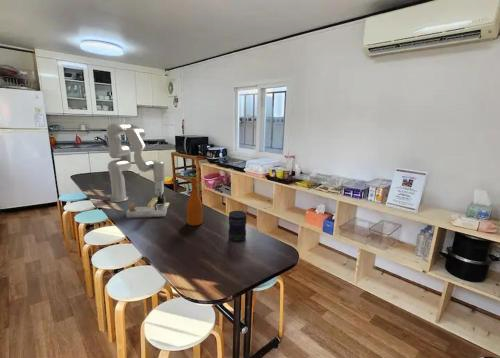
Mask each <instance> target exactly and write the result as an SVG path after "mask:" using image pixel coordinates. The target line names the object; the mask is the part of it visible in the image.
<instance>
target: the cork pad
mask: <svg viewBox="0 0 500 358" xmlns="http://www.w3.org/2000/svg"><path fill="white" fill-rule="evenodd" d="M157 206H167V209H168V208H169V206H170V202H165V204H157ZM153 207H154V205H153Z"/></svg>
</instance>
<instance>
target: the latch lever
mask: <svg viewBox="0 0 500 358" xmlns="http://www.w3.org/2000/svg"><path fill="white" fill-rule="evenodd" d="M156 202H157V197H156V196H153V197H152V199H151V200H150V201H149V202H148V203H147V207H148V208H152V207H153V205H154V204H155V203H156Z"/></svg>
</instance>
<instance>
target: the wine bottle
mask: <svg viewBox="0 0 500 358" xmlns="http://www.w3.org/2000/svg"><path fill="white" fill-rule="evenodd" d="M190 179H191V183H190V184H191V191H190V195H189V197H188V199H187V203H186V207H185V208H186V222H187V225H188V226H192V227H194V226H199V225H202V223H203V214H204V213H203V212H204V211H203V203H202V200H201V198H200V196H199V194H198V189H197V184H198V181H197V179H198V178H197V177H196V176H192V177H191V178H190Z"/></svg>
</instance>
